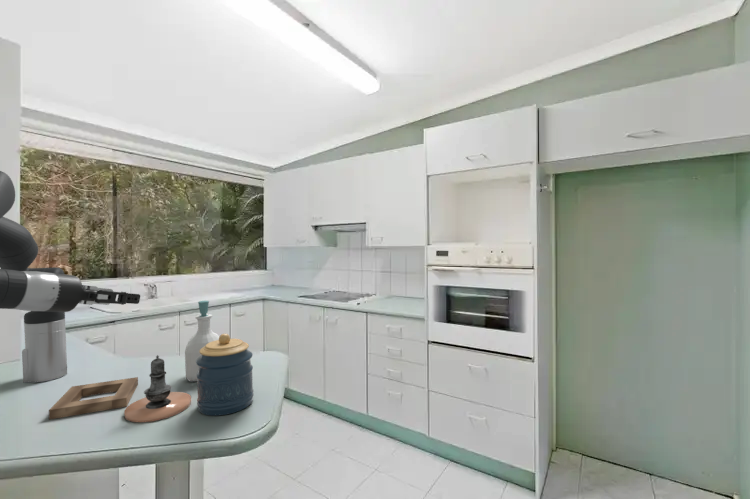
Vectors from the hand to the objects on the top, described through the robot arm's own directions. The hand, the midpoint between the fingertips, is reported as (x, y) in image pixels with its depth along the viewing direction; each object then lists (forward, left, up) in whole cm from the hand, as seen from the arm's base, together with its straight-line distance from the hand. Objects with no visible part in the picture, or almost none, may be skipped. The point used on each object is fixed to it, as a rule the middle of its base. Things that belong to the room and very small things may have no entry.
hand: (126, 297), depth 86 cm
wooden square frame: (-9, +12, -27) cm, 31 cm away
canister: (+21, -5, -28) cm, 35 cm away
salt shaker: (+6, 0, -27) cm, 27 cm away
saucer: (+6, 0, -27) cm, 28 cm away
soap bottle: (+16, +18, -28) cm, 37 cm away
